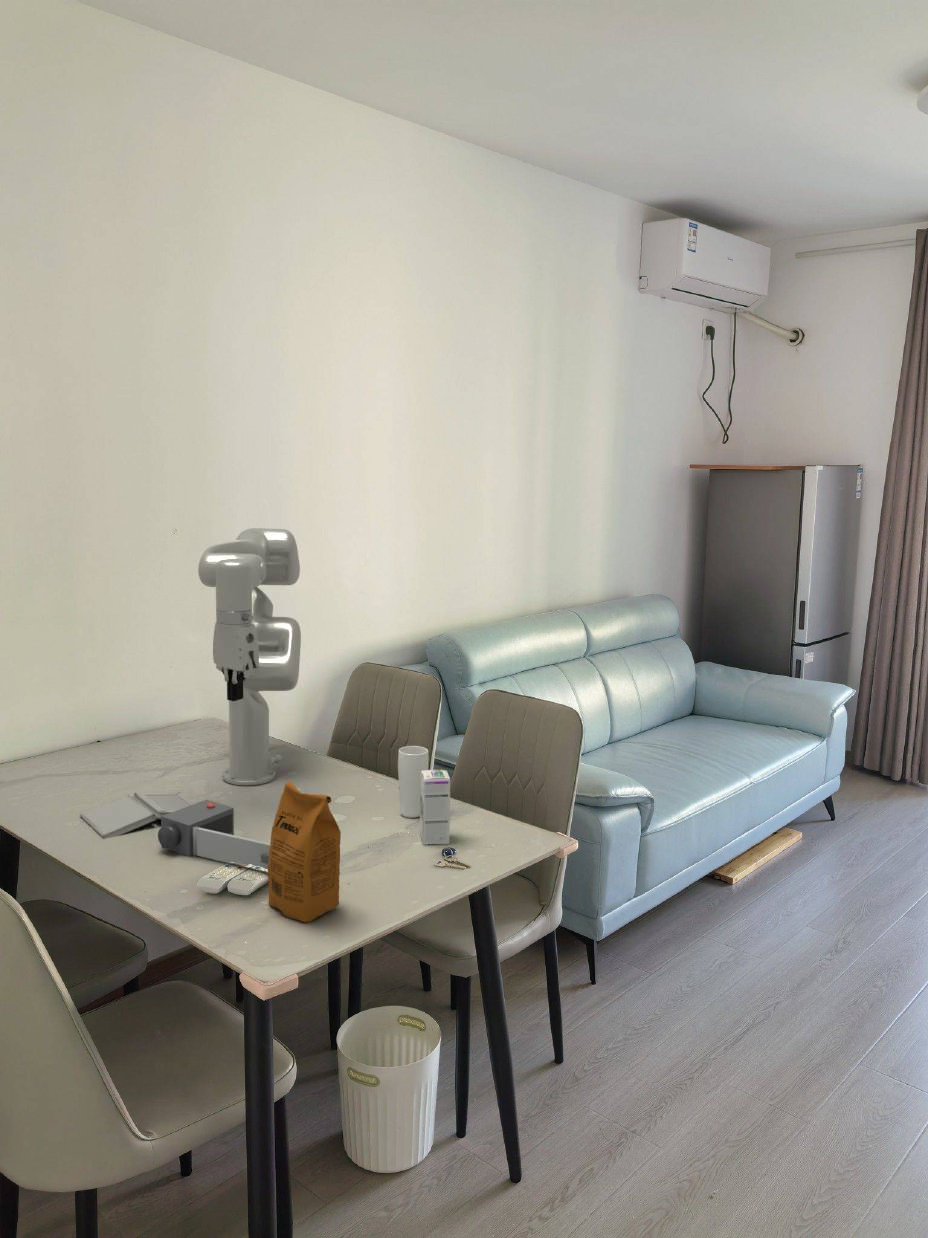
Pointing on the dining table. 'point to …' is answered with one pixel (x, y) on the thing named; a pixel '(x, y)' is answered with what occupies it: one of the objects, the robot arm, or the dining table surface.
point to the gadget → (133, 812)
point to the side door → (230, 848)
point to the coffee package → (304, 856)
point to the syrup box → (435, 807)
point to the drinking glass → (411, 778)
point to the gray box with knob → (194, 824)
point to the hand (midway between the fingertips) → (235, 699)
